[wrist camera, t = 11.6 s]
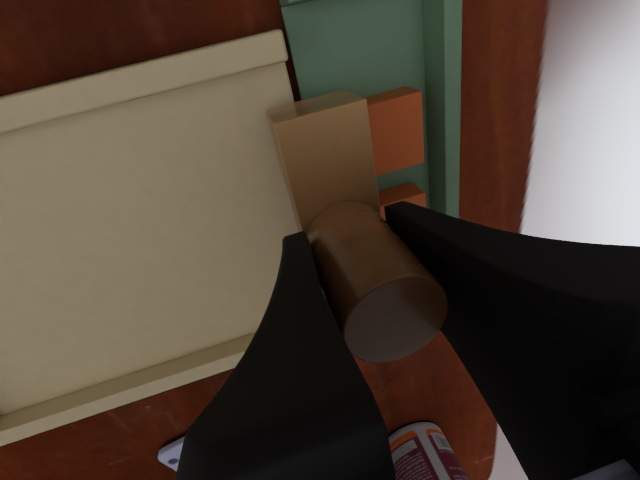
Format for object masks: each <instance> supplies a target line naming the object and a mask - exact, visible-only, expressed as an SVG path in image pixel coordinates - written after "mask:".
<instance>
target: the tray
mask: <svg viewBox="0 0 640 480" xmlns="http://www.w3.org/2000/svg"><path fill="white" fill-rule="evenodd" d="M287 60H288V54H287V49H286V45H285V40H284V36H283V32H282V30H280V29H274V30H269V31H265V32H261V33H257V34H253V35H249V36H245V37H241V38H237V39H233V40H229V41H225V42H220V43H216V44H212V45H208V46H204V47H200V48H196V49H192V50H188V51H184V52H180V53H176V54H171V55H167V56H163V57H159V58H155V59H151V60H147V61H143V62H139V63H135V64H131V65H126V66H122V67H118V68H114V69H110V70H106V71H102V72H98V73H94V74H90V75H86V76H82V77H77V78H73V79H69V80H65V81H61V82H57V83H53V84H49V85H45V86H41V87H37V88H33V89H28V90H24V91H20V92H16V93H12V94H8V95H4V96H0V446H3V445H6V444H9V443H12V442H15V441H18V440H21V439H24V438H27V437H29V436H32V435H35V434H38V433H41V432H44V431H47V430H50V429H53V428H56V427H59V426H62V425H65V424H68V423H71V422H74V421H77V420H80V419H83V418H86V417H89V416H92V415H95V414H98V413H101V412H104V411H107V410H110V409H113V408H116V407H119V406H122V405H125V404H128V403H131V402H134V401H137V400H140V399H143V398H146V397H149V396H152V395H155V394H158V393H161V392H164V391H167V390H170V389H173V388H176V387H179V386H182V385H185V384H188V383H191V382H194V381H197V380H200V379H202V378H205V377H208V376H211V375H214V374H217V373H220V372H223V371H226V370H229V369H232V368H235V367H236V365H237V364H238V362H239V361H240V359H241V358H242V356H243V355H244V353H245V351H246V349H247V348H248V346H249V344H250V342H251V340H252V338H253V336H254V335H255V333H256V331H257V329H258V327H259V325H260V323H261V320H262V318H263V316H264V314H265V311H266V309H267V306H268V304H269V301H270V298H271V295H272V292H273V289H274V286H275V283H276V279H277V275H278V271H279V266H280V261H281V255H282V240H283V238H284V237H285V236H288V235H291V234H295V233H298V228H297V224H296V221H295V217H294V214H293V210H292V206H291V203H290V199H289V196H288V192H287V188H286V185H285V181H284V178H283V174H282V170H281V167H280V163H279V160H278V156H277V153H276V149H275V145H274V142H273V138H272V135H271V131H270V127H269V124H268V120H267V117H266V113H265V111H266V110H267V109H271V108H275V107H279V106H282V105H286V104H290V103H294V98H293V93H292V89H291V85H290V80H289V76H288V72H287V67H286V63H285V61H287Z"/></svg>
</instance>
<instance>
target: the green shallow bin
mask: <svg viewBox="0 0 640 480" xmlns="http://www.w3.org/2000/svg"><path fill="white" fill-rule="evenodd" d="M279 2H280V5H281V12H282V17H283V21H284V26H285V30H286V35H287V40H288V44H289V49H290V53H291V58H292V62H293V67H294V71H295V76H296V80H297V85H298V89H299V94H300V98H301V100H305V99H309V98H312V97H316V96H320V95H324V94H327V93H331V92H335V91H339V90H342V89H345V90H348V91H350V92H352V93H354V94H357V95H359V96H361V97H363V98H364V97H368V96H372V95H376V94H379V93H383V92H387V91H390V90H394V89H398V88H401V87H405V86H406V87H409V88H413V89H416V90H420V91H422V111H423V135H424V160H425V162H424V163H420V164H417V165H414V166H410V167H407V168H403V169H400V170H397V171H393V172H390V173H386V174H383V175H380V176H376V179H377V188H378V192H380V191H383V190H386V189H390V188H393V187H397V186H400V185H403V184H407V183H410V182H413V183H414V184H415V185H417V186H418V187H419V188H420V189H422V190H423V191H424V192H425V193H426V208H428V209H431V210H434V211H437V212H440V213H443V214H446V215H449V216H452V217H455V218H458V219H459V172H460V110H461V48H462V0H279Z"/></svg>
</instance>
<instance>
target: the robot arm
mask: <svg viewBox="0 0 640 480" xmlns="http://www.w3.org/2000/svg"><path fill="white" fill-rule="evenodd" d="M384 210H385V218H386V222H387V223H388V225H389V226H390V227H391V228H392V229H393V230H394V231H395V233H396V234H397V235H398V236H399V237H400V238H401V239H402V241H403V242H404V243H405V244H406V245H407V246H408V247H409V249H410V250H411V251H412V252H413V253H414V254H415V255H416V257H417V258H418V259H419V260H420V261H421V262H422V263H423V265H424V266H425V267H426V268H427V269H428V270H429V271H430V273H431V274H432V275H433V276H434V277H435V278H436V279H437V281H438V282H439V283H440V284H441V285H442V287H443V288H444V289H445V291H446V294H447V297H448V304H449V306H448V313H447V317H446V319H445V322H444V324H443V326H442V327H441V329H440V330H441V332H442V333H443V334H444V336H445V337H446V338H447V340H448V341H449V343H450V344H451V345H452V347H453V348H454V350H455V352H456V353H457V355H458V356H459V358H460V360H461V361H462V363H463V364H464V366H465V368H466V369H467V371H468V372H469V374H470V376H471V377H472V379H473V381H474V382H475V384H476V386H477V388H478V389H479V391H480V393H481V394H482V396H483V398H484V399H485V401H486V403H487V404H488V406H489V408H490V410H491V411H492V413H493V415H494V417H495V419H496V420H497V422H498V424H499V426H500V427H501V429H502V431H503V433H504V435H505V436H506V438H507V440H508V442H509V443H510V445H511V447H512V449H513V451H514V453H515V455H516V457H517V459H518V460H519V462H520V464H521V466H522V468H523V470H524V472H525V474H526V475H527V477H528V479H529V480H640V247H635V246H618V245H602V244H590V243H579V242H570V241H562V240H553V239H546V238H540V237H533V236H528V235H523V234H518V233H512V232H507V231H503V230H498V229H494V228H490V227H487V226H483V225H479V224H475V223H472V222H468V221H465V220H462V219H458V218H455V217H452V216H449V215H446V214H443V213H440V212H437V211H434V210H431V209H428V208H425V207H422V206H419V205H416V204H413V203H410V202H406V201H400V202H397V203H393V204H390V205H387V206H384ZM158 460H159V461H160V462H162V463H163V464H165V465H167V466H168V467H170V468H172V469H173V470H175V471H177V473H176V478H175V480H396V476H395V471H394V465H393V460H392V454H391V449H390V443H389V438H388V432H387V429H386V425H385V423H384V420H383V418H382V415H381V413H380V411H379V408H378V406H377V403H376V401H375V399H374V396H373V394H372V392H371V390H370V388H369V386H368V384H367V382H366V381H365V379H364V377H363V375H362V373H361V371H360V369H359V367H358V365H357V364H356V362H355V360H354V358H353V356H352V354H351V352H350V350H349V348H348V346H347V344H346V342H345V340H344V338H343V336H342V333H341V331H340V329H339V327H338V325H337V323H336V321H335V319H334V316H333V314H332V312H331V310H330V308H329V305H328V303H327V301H326V298H325V296H324V294H323V291H322V288H321V285H320V281H319V277H318V273H317V269H316V265H315V261H314V257H313V254H312V250H311V246H310V242H309V239H308V237H307V235H306V234H305V232H304V231H301V232H298V233H295V234H291V235H288V236H285V237H284V238H283V240H282V255H281V261H280V266H279V271H278V275H277V279H276V283H275V286H274V289H273V292H272V295H271V298H270V301H269V304H268V306H267V309H266V311H265V314H264V316H263V318H262V320H261V323H260V325H259V327H258V329H257V331H256V333H255V335H254V336H253V338H252V340H251V342H250V344H249V346H248V348H247V349H246V351H245V353H244V355H243V356H242V358H241V359H240V361H239V362H238V364H237V365H236V367H235V368H234V370H233V372H232V373H231V375H230V376H229V378H228V379H227V381H226V382H225V384H224V385H223V386H222V388H221V389H220V391H219V392H218V393H217V395H216V396H215V397H214V398H213V400H212V401H211V402H210V403H209V404H208V406H207V407H206V408H205V409H204V411H203V412H202V413H201V414H200V416H199V417H198V418H197V419H196V421H195V422H194V423H193V424H192V425H191V426H190V428H189V429H188V430H187V431H186V433H185V436H184V437H182V438H180V439H178V440H176V441H174V442H172V443H170V444H168V445H166V446H165V447H163V448H161V449H160V450H159V452H158Z"/></svg>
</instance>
